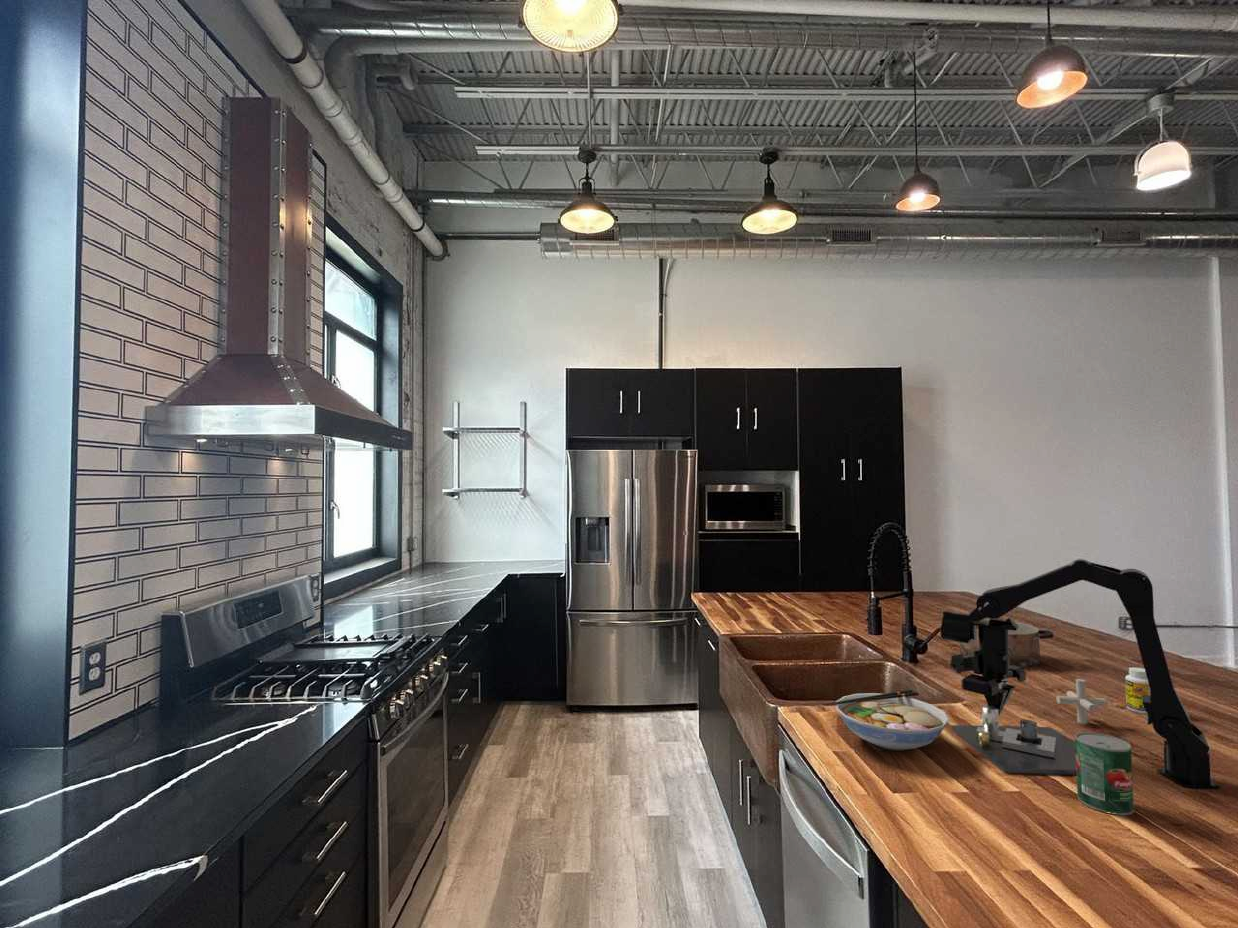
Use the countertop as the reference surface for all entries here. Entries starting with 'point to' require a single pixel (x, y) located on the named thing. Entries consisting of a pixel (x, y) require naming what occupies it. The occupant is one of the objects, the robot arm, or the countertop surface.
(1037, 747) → the metal knob latch
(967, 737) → the post base
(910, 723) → the ramen bowl
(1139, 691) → the supplement bottle
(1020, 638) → the cooking pot
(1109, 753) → the canned tomato
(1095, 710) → the pipe connector
